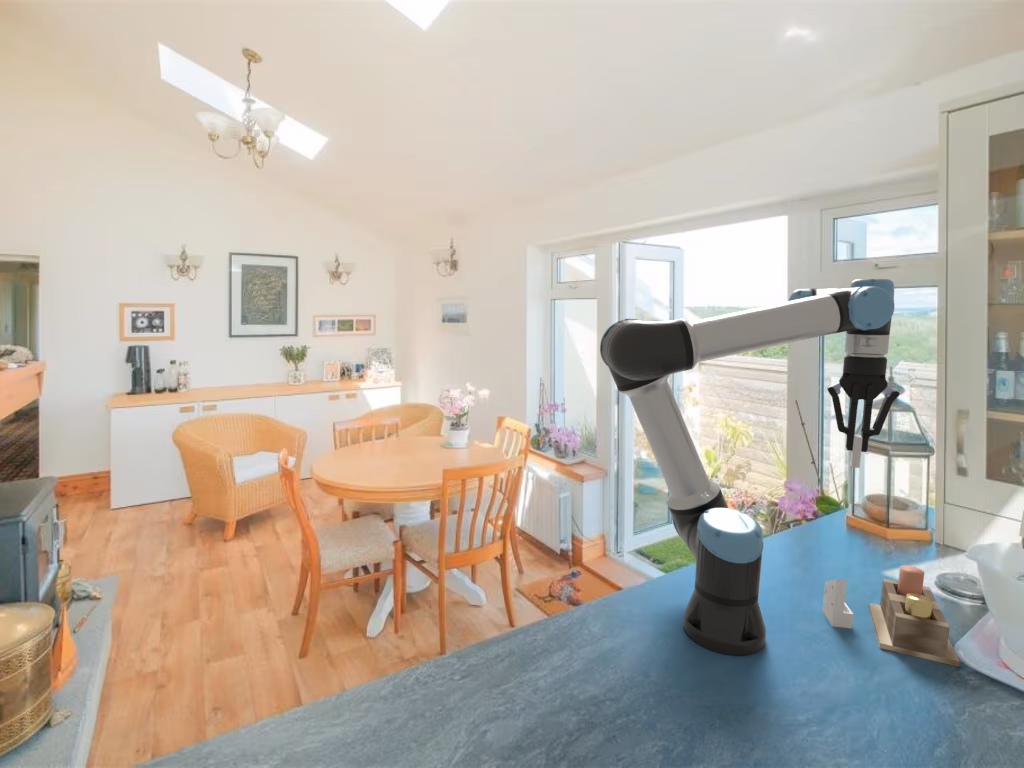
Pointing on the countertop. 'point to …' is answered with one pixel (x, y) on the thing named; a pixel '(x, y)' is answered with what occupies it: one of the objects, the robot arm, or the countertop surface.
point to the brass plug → (918, 606)
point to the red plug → (910, 580)
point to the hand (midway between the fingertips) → (854, 465)
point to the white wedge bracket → (836, 604)
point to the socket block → (911, 627)
